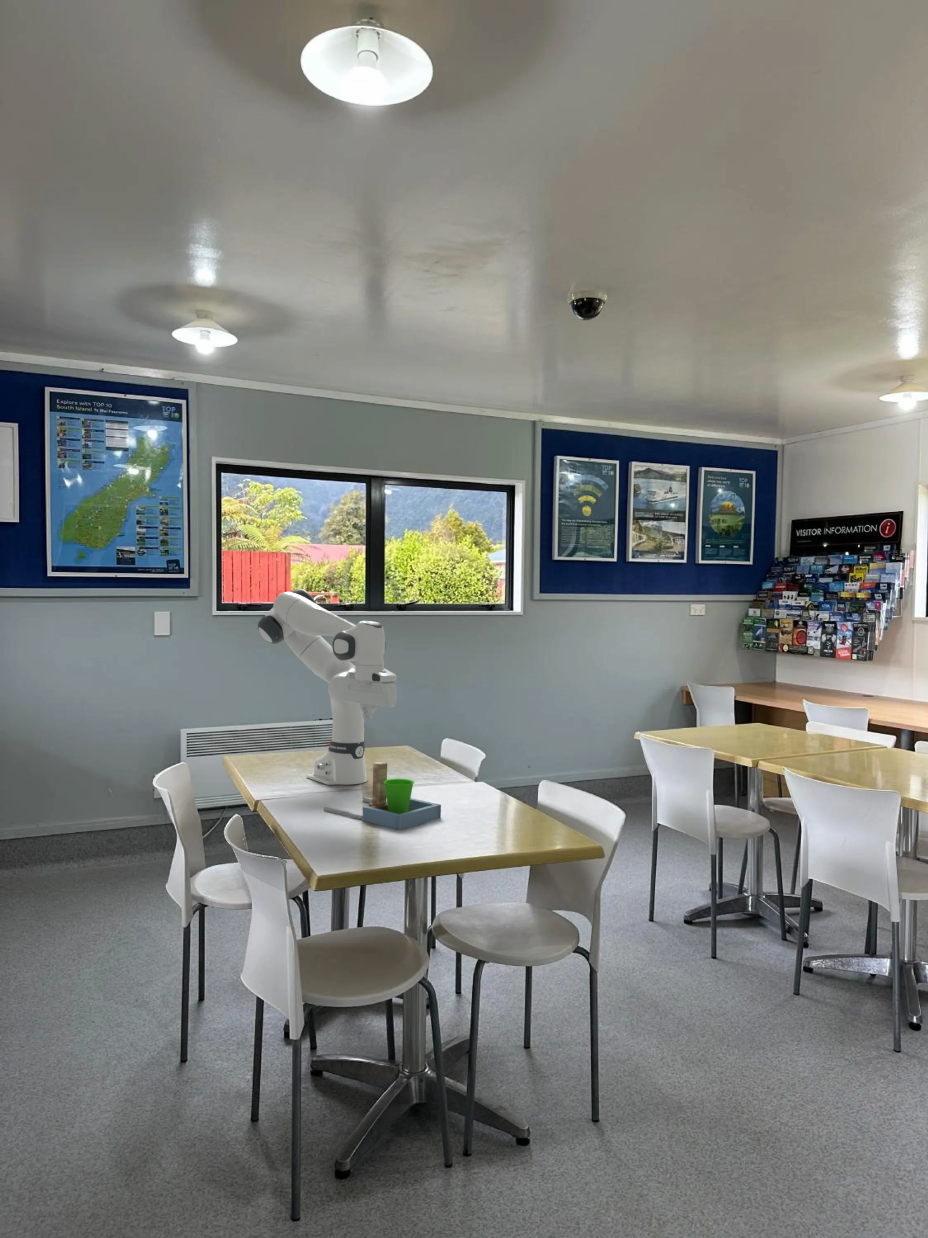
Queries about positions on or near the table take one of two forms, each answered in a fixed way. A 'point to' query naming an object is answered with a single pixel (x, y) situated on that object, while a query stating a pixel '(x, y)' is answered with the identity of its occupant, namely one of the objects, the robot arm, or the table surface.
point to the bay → (404, 815)
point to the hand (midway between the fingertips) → (368, 719)
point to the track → (347, 813)
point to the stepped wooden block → (379, 786)
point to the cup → (398, 794)
